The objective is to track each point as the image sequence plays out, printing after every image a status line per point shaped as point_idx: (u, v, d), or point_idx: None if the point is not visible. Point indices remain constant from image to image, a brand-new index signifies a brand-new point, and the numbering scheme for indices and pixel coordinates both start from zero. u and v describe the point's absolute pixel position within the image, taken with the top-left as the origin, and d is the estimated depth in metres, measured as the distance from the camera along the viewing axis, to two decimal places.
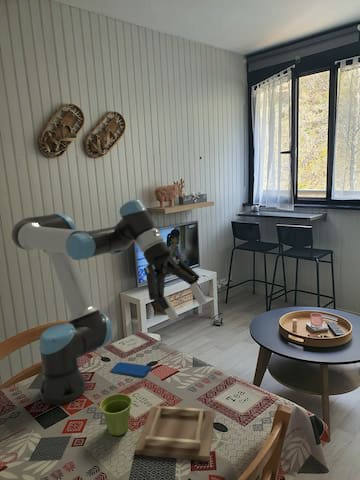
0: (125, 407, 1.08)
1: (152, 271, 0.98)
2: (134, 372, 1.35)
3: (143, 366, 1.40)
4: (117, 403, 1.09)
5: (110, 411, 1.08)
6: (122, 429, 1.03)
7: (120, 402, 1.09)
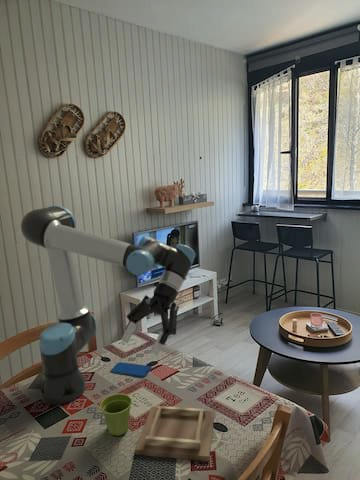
0: (125, 407, 1.08)
1: None
2: (134, 372, 1.35)
3: (143, 366, 1.40)
4: (117, 403, 1.09)
5: (110, 411, 1.08)
6: (122, 429, 1.03)
7: (120, 402, 1.09)
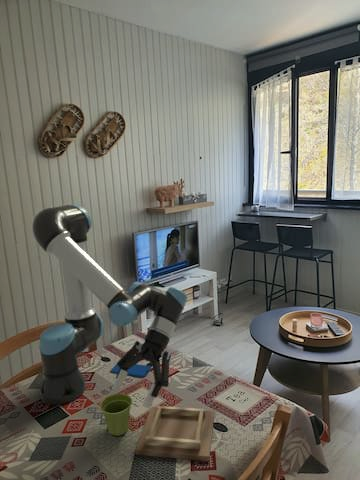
0: (125, 407, 1.08)
1: None
2: (134, 372, 1.36)
3: (143, 366, 1.40)
4: (117, 403, 1.09)
5: (110, 411, 1.08)
6: (122, 429, 1.03)
7: (120, 402, 1.09)
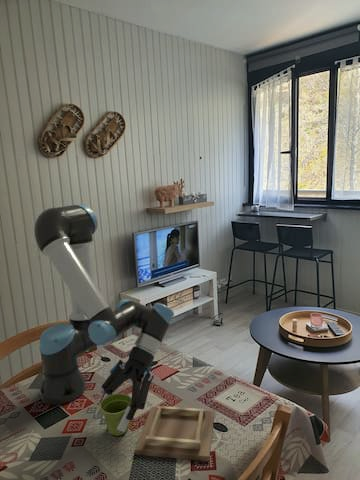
0: (125, 407, 1.08)
1: None
2: None
3: None
4: (117, 403, 1.09)
5: (110, 411, 1.08)
6: None
7: (120, 402, 1.09)
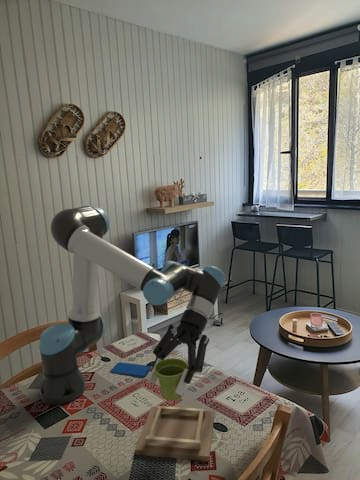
0: (179, 372, 1.03)
1: None
2: (134, 372, 1.36)
3: (143, 366, 1.40)
4: (170, 368, 1.04)
5: None
6: (178, 394, 0.98)
7: (173, 367, 1.04)
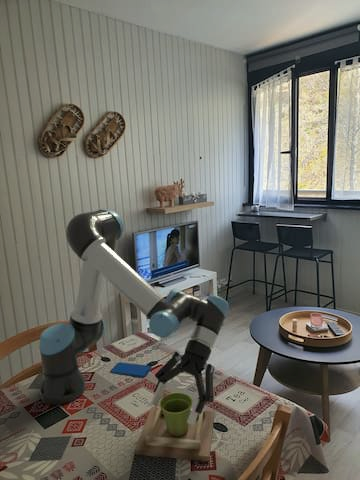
0: (183, 406, 1.05)
1: None
2: (134, 372, 1.36)
3: (143, 366, 1.40)
4: (174, 402, 1.06)
5: (168, 410, 1.05)
6: (183, 429, 1.00)
7: (178, 401, 1.06)
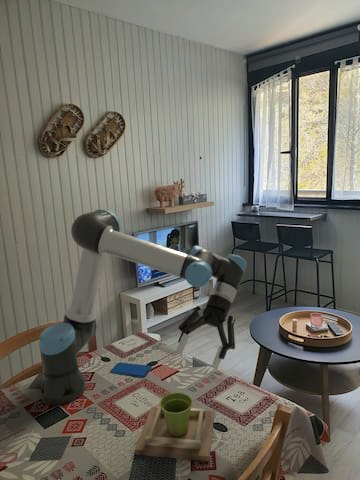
0: (183, 406, 1.05)
1: None
2: (134, 372, 1.36)
3: (143, 366, 1.40)
4: (174, 402, 1.06)
5: (168, 410, 1.05)
6: (183, 429, 1.00)
7: (178, 401, 1.06)
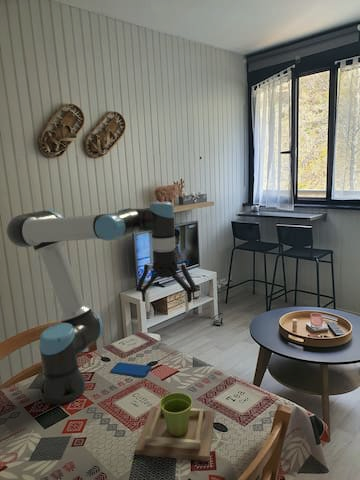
0: (183, 406, 1.05)
1: None
2: (134, 372, 1.36)
3: (143, 366, 1.40)
4: (174, 402, 1.06)
5: (168, 410, 1.05)
6: (183, 429, 1.00)
7: (178, 401, 1.06)
